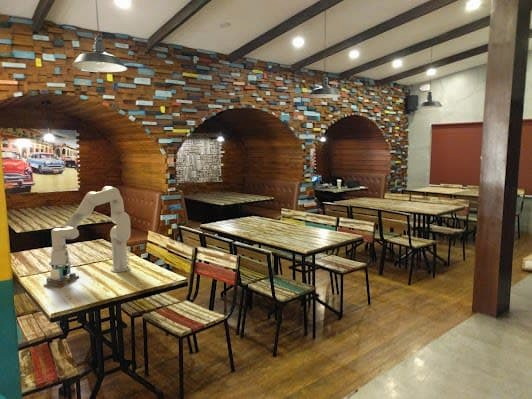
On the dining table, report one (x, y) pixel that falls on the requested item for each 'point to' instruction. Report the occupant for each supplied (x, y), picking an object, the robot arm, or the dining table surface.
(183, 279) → the dining table surface
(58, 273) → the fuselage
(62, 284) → the cradle
